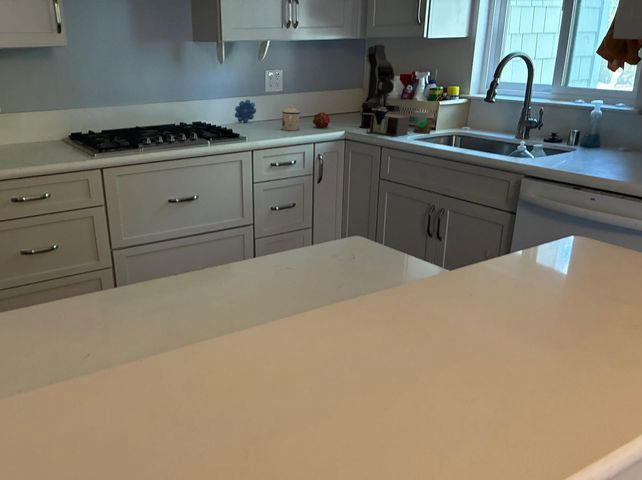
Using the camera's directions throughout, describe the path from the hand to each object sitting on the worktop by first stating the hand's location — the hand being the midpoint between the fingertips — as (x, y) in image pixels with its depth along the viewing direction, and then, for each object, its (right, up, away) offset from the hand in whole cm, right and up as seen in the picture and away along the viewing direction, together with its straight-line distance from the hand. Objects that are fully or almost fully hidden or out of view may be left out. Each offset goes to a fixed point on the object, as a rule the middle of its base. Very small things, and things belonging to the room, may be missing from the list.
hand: (378, 124), depth 304 cm
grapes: (-66, +10, +30) cm, 74 cm away
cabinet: (+6, -3, +6) cm, 9 cm away
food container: (+23, -1, +12) cm, 26 cm away
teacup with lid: (-43, 0, +10) cm, 44 cm away
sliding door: (0, -3, +3) cm, 4 cm away
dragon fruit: (-26, +4, +20) cm, 34 cm away
